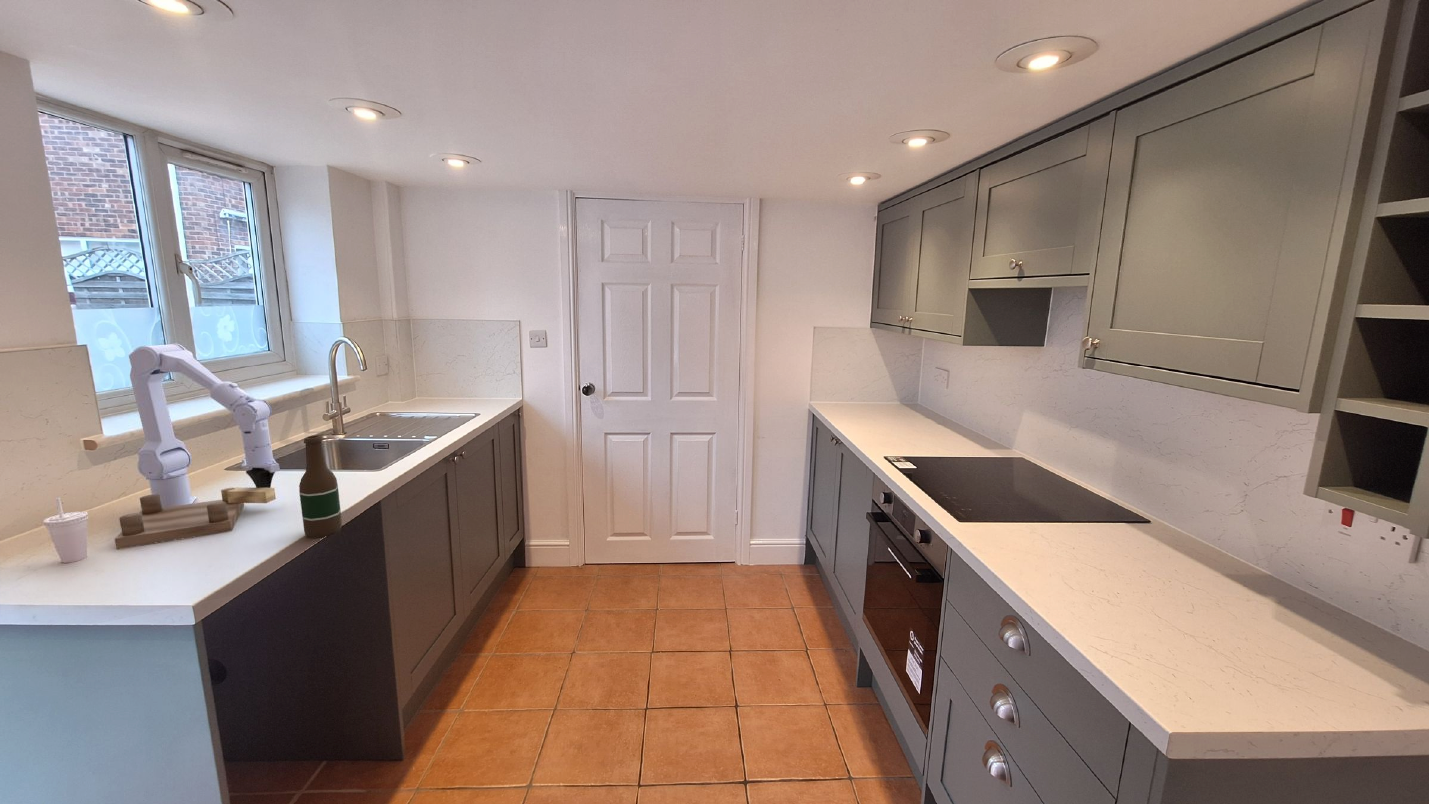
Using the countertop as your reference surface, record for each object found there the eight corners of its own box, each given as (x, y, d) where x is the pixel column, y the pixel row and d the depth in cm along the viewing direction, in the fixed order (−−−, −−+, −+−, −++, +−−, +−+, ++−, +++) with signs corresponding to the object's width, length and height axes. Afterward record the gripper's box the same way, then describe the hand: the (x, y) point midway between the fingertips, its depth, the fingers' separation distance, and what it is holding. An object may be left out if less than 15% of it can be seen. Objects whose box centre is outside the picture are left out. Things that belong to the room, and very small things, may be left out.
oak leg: (219, 502, 148) (217, 491, 147) (229, 498, 151) (227, 487, 151) (266, 503, 148) (265, 491, 148) (275, 498, 151) (274, 487, 151)
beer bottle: (301, 531, 137) (289, 436, 133) (338, 523, 143) (327, 431, 138) (308, 541, 132) (296, 442, 128) (347, 531, 137) (336, 436, 133)
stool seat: (143, 519, 143) (139, 495, 142) (244, 505, 154) (241, 482, 152) (116, 549, 126) (111, 522, 125) (231, 530, 137) (228, 505, 136)
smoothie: (47, 561, 120) (33, 499, 118) (90, 550, 126) (78, 490, 123) (57, 568, 117) (44, 504, 115) (101, 556, 123) (89, 495, 120)
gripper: (225, 445, 150) (233, 493, 152) (254, 452, 143) (262, 502, 146) (256, 439, 156) (263, 486, 159) (285, 446, 150) (292, 494, 152)
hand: (264, 493), depth 153 cm, fingers closed, pressing on oak leg
